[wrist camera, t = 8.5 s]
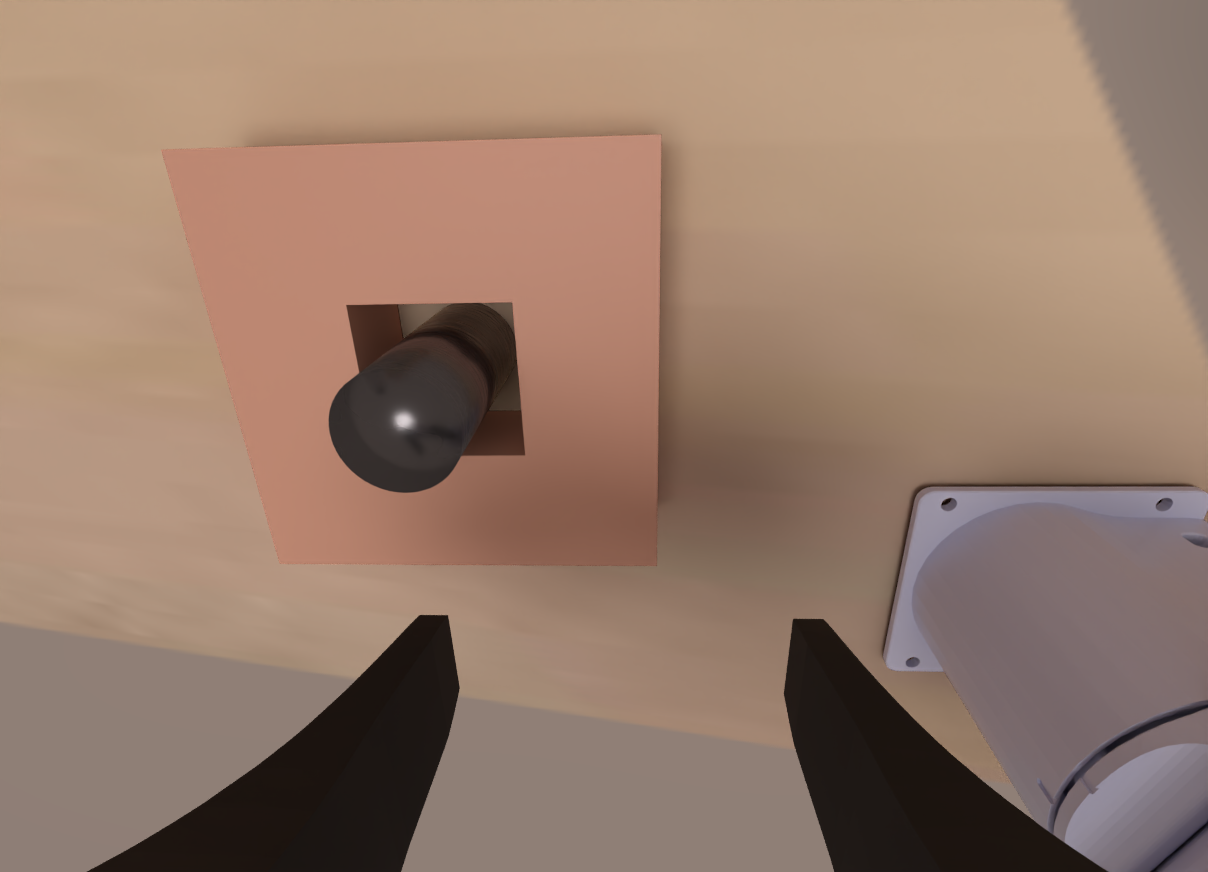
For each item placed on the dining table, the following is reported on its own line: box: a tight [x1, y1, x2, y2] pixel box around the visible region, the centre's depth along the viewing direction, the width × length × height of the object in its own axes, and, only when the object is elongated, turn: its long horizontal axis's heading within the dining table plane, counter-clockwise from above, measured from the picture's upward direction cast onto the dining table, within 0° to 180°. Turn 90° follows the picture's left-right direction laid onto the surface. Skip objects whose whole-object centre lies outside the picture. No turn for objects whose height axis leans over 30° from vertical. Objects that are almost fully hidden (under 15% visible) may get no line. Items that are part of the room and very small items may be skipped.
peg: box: [329, 303, 517, 493], centre depth 17 cm, size 3×3×7 cm
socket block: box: [161, 134, 661, 566], centre depth 19 cm, size 12×12×4 cm
